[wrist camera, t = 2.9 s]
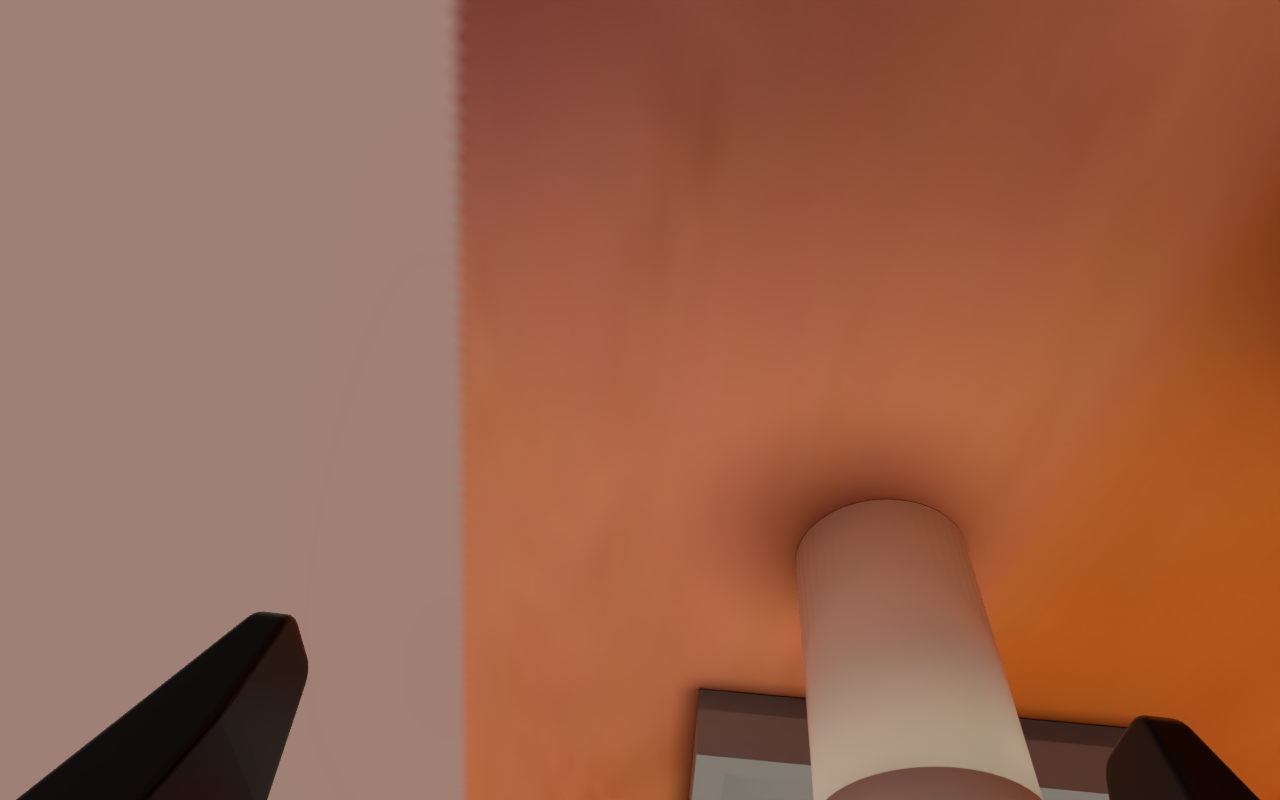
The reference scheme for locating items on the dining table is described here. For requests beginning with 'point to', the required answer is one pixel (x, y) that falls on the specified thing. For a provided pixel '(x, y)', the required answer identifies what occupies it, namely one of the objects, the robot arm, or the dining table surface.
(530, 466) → the dining table surface
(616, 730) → the dining table surface
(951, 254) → the dining table surface
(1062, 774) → the tray
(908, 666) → the shaker
